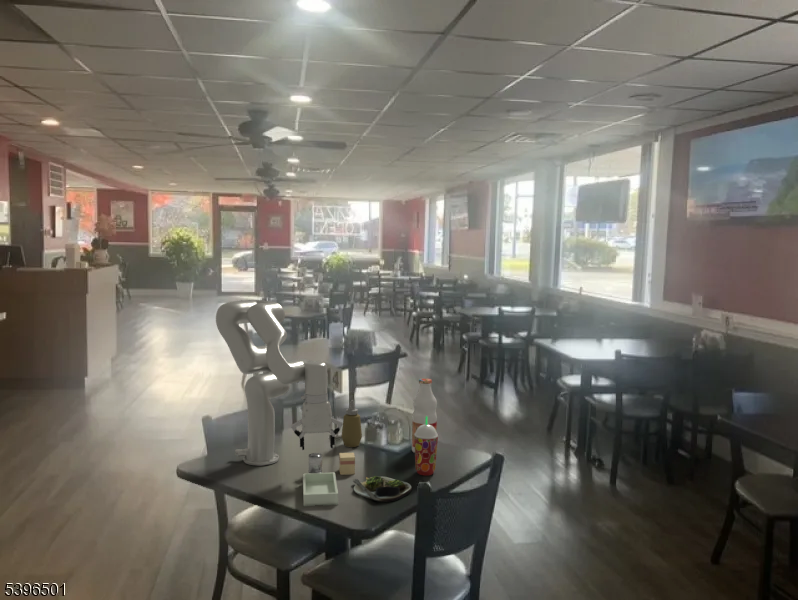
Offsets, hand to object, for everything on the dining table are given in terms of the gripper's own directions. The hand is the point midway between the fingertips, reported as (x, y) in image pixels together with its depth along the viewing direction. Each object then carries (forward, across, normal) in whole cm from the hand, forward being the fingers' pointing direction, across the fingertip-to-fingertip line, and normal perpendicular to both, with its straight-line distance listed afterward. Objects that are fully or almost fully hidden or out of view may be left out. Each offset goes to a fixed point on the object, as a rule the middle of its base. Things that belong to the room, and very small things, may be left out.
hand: (317, 448), depth 219 cm
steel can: (+10, -1, +1) cm, 10 cm away
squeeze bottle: (+10, +14, +32) cm, 36 cm away
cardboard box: (+10, +10, +3) cm, 14 cm away
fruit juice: (+10, +41, +22) cm, 48 cm away
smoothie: (+11, +37, -1) cm, 39 cm away
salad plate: (+11, +20, -16) cm, 28 cm away
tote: (+10, 0, -16) cm, 19 cm away
